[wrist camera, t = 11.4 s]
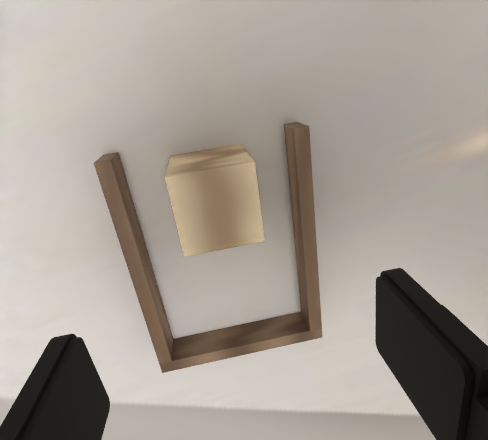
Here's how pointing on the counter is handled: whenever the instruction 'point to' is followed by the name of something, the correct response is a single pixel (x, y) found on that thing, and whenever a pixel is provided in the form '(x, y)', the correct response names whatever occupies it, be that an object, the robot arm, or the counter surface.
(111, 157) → the bay
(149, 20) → the counter surface
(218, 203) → the light wooden block
